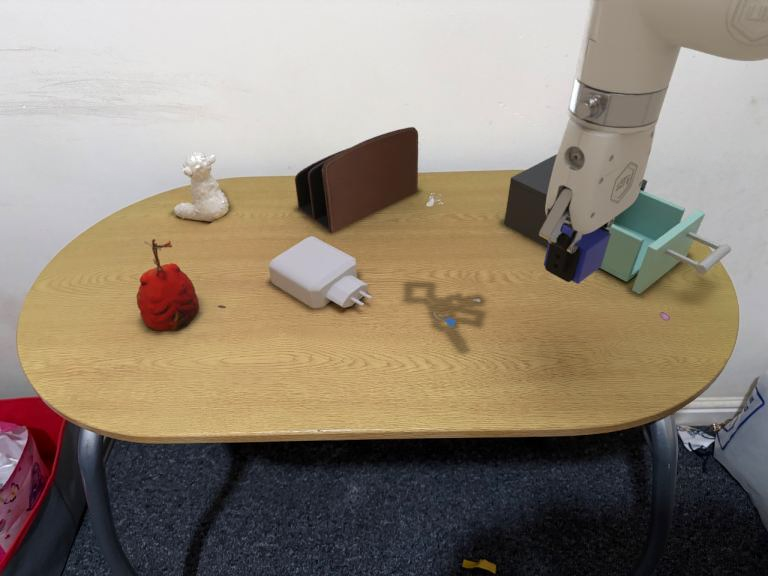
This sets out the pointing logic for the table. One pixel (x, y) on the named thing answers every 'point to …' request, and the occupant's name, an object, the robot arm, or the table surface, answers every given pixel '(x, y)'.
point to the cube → (588, 252)
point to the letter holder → (359, 179)
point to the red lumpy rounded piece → (166, 295)
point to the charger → (318, 274)
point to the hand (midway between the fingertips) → (573, 263)
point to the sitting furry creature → (202, 191)
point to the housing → (531, 200)
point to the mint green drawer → (655, 241)
